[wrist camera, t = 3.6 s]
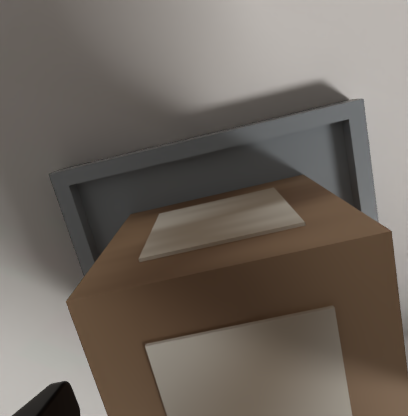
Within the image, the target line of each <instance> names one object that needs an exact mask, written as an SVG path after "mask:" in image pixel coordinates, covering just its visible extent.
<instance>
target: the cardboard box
mask: <svg viewBox="0 0 408 416" xmlns="http://www.w3.org/2000/svg"><path fill="white" fill-rule="evenodd" d="M66 303H67V306H68V309H69V312H70V314H71V317H72V320H73V322H74V325H75V328H76V331H77V333H78V336H79V339H80V341H81V344H82V347H83V350H84V352H85V355H86V358H87V360H88V363H89V366H90V369H91V371H92V374H93V377H94V380H95V382H96V385H97V388H98V390H99V393H100V396H101V399H102V401H103V404H104V407H105V409H106V412H107V415H108V416H408V372H407V363H406V355H405V346H404V337H403V328H402V319H401V310H400V302H399V293H398V284H397V275H396V266H395V258H394V249H393V240H392V231H391V230H389V229H387V228H386V227H384V226H383V225H381V224H380V223H378V222H377V221H375V220H373V219H372V218H370V217H369V216H367V215H366V214H364V213H363V212H361V211H359V210H358V209H356V208H355V207H353V206H352V205H350V204H349V203H347V202H345V201H344V200H342V199H341V198H339V197H338V196H336V195H335V194H333V193H331V192H330V191H328V190H327V189H325V188H324V187H322V186H320V185H319V184H317V183H316V182H314V181H313V180H311V179H310V178H308V177H306V176H305V175H299V176H295V177H290V178H286V179H281V180H277V181H273V182H268V183H264V184H260V185H255V186H251V187H247V188H242V189H238V190H234V191H229V192H225V193H221V194H216V195H212V196H208V197H203V198H199V199H194V200H190V201H186V202H181V203H177V204H173V205H168V206H164V207H160V208H155V209H151V210H147V211H142V212H138V213H134V214H130V216H129V217H128V218H127V220H126V221H125V222H124V224H123V225H122V226H121V228H120V229H119V230H118V232H117V233H116V234H115V236H114V237H113V239H112V240H111V241H110V243H109V244H108V245H107V247H106V248H105V249H104V251H103V252H102V253H101V255H100V256H99V257H98V259H97V260H96V262H95V263H94V264H93V266H92V267H91V268H90V270H89V271H88V272H87V274H86V275H85V276H84V278H83V279H82V280H81V282H80V283H79V285H78V286H77V287H76V289H75V290H74V291H73V293H72V294H71V295H70V297H69V298H68V299H67V301H66Z"/></svg>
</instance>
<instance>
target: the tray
mask: <svg viewBox="0 0 408 416" xmlns="http://www.w3.org/2000/svg"><path fill="white" fill-rule="evenodd" d="M299 175H305V176H306V177H308V178H310V179H311V180H313V181H314V182H316V183H317V184H319V185H320V186H322V187H324V188H325V189H327V190H328V191H330V192H331V193H333V194H335V195H336V196H338V197H339V198H341V199H342V200H344V201H345V202H347V203H349V204H350V205H352V206H353V207H355V208H356V209H358V210H359V211H361V212H363V213H364V214H366V215H367V216H369V217H370V218H372V219H373V220H375V221H377V222H378V214H377V206H376V198H375V189H374V181H373V173H372V165H371V157H370V148H369V140H368V132H367V124H366V116H365V107H364V99H352V100H347V101H343V102H339V103H334V104H330V105H326V106H322V107H318V108H314V109H310V110H305V111H301V112H297V113H293V114H289V115H285V116H280V117H276V118H272V119H268V120H264V121H260V122H256V123H251V124H247V125H243V126H239V127H235V128H231V129H227V130H222V131H218V132H214V133H210V134H206V135H202V136H198V137H193V138H189V139H185V140H181V141H177V142H173V143H168V144H164V145H160V146H156V147H152V148H148V149H144V150H139V151H135V152H131V153H127V154H123V155H119V156H115V157H110V158H106V159H102V160H98V161H94V162H90V163H85V164H81V165H77V166H73V167H69V168H65V169H61V170H58V171H56V172H53V173H51V174H49V176H50V179H51V182H52V185H53V188H54V191H55V194H56V197H57V200H58V202H59V205H60V208H61V211H62V214H63V217H64V220H65V223H66V225H67V228H68V231H69V234H70V237H71V240H72V243H73V246H74V248H75V251H76V254H77V257H78V260H79V263H80V266H81V269H82V272H83V274H84V276H85V275H86V274H87V272H88V271H89V270H90V268H91V267H92V266H93V264H94V263H95V262H96V260H97V259H98V257H99V256H100V255H101V253H102V252H103V251H104V249H105V248H106V247H107V245H108V244H109V243H110V241H111V240H112V239H113V237H114V236H115V234H116V233H117V232H118V230H119V229H120V228H121V226H122V225H123V224H124V222H125V221H126V220H127V218H128V217H129V216H130V214H134V213H138V212H142V211H147V210H151V209H155V208H160V207H164V206H168V205H173V204H177V203H181V202H186V201H190V200H194V199H199V198H203V197H208V196H212V195H216V194H221V193H225V192H229V191H234V190H238V189H242V188H247V187H251V186H255V185H260V184H264V183H268V182H273V181H277V180H281V179H286V178H290V177H295V176H299ZM378 223H379V222H378Z"/></svg>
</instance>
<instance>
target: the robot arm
mask: <svg viewBox="0 0 408 416" xmlns="http://www.w3.org/2000/svg"><path fill="white" fill-rule="evenodd" d="M12 416H80V408H79V405H78V403H77V400H76V397H75V395H74V392H73V390H72V387H71V385H70V383H69V382H67V381H62V382H57V383H53V384H50V385H49V386H47V387H46V388H45V389H44V390H43V391H41V392H40V393H39V394H38V395H37V396H35V397H34V398H33V399H32V400H30V401H29V402H28V403H27V404H26V405H24V406H23V407H22V408H21V409H20V410H18V411H17V412H16V413H15V414H13V415H12Z"/></svg>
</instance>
